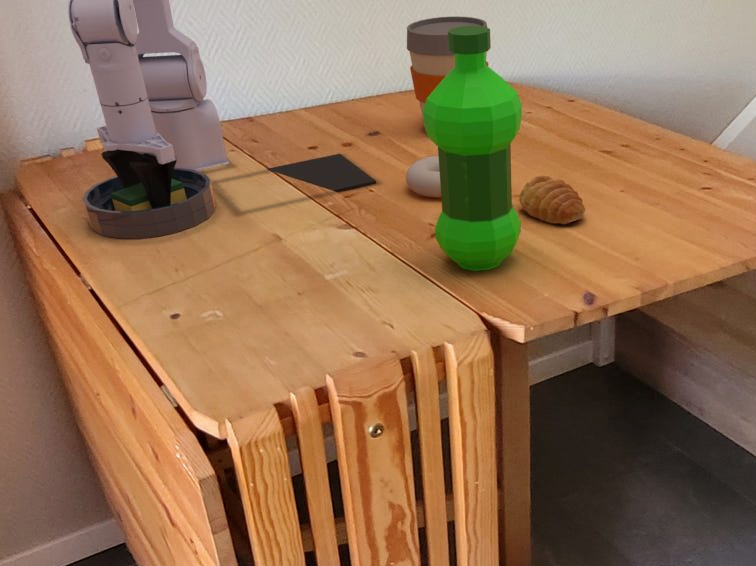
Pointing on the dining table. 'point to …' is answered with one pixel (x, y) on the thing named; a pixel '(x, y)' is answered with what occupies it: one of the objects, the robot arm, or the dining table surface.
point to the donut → (425, 177)
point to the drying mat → (327, 173)
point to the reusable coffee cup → (433, 52)
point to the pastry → (551, 200)
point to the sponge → (143, 197)
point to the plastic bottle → (474, 154)
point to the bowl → (150, 220)
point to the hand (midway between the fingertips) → (151, 206)
